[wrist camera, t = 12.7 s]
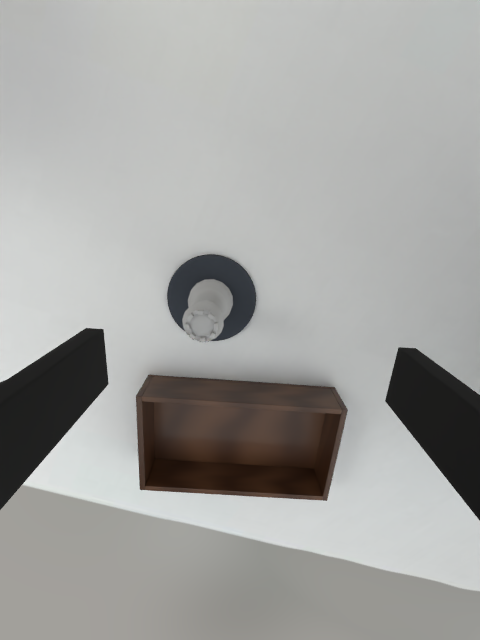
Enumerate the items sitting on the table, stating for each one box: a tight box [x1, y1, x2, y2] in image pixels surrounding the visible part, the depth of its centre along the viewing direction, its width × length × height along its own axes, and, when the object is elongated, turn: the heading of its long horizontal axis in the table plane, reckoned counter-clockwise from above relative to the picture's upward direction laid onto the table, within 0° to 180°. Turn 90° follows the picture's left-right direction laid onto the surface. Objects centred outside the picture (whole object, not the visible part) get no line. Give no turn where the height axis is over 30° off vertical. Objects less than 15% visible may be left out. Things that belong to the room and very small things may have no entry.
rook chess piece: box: [182, 279, 233, 342], centre depth 26 cm, size 4×4×8 cm
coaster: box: [167, 255, 256, 341], centre depth 30 cm, size 9×9×1 cm
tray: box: [136, 375, 348, 501], centre depth 33 cm, size 21×12×4 cm, turn 86°
